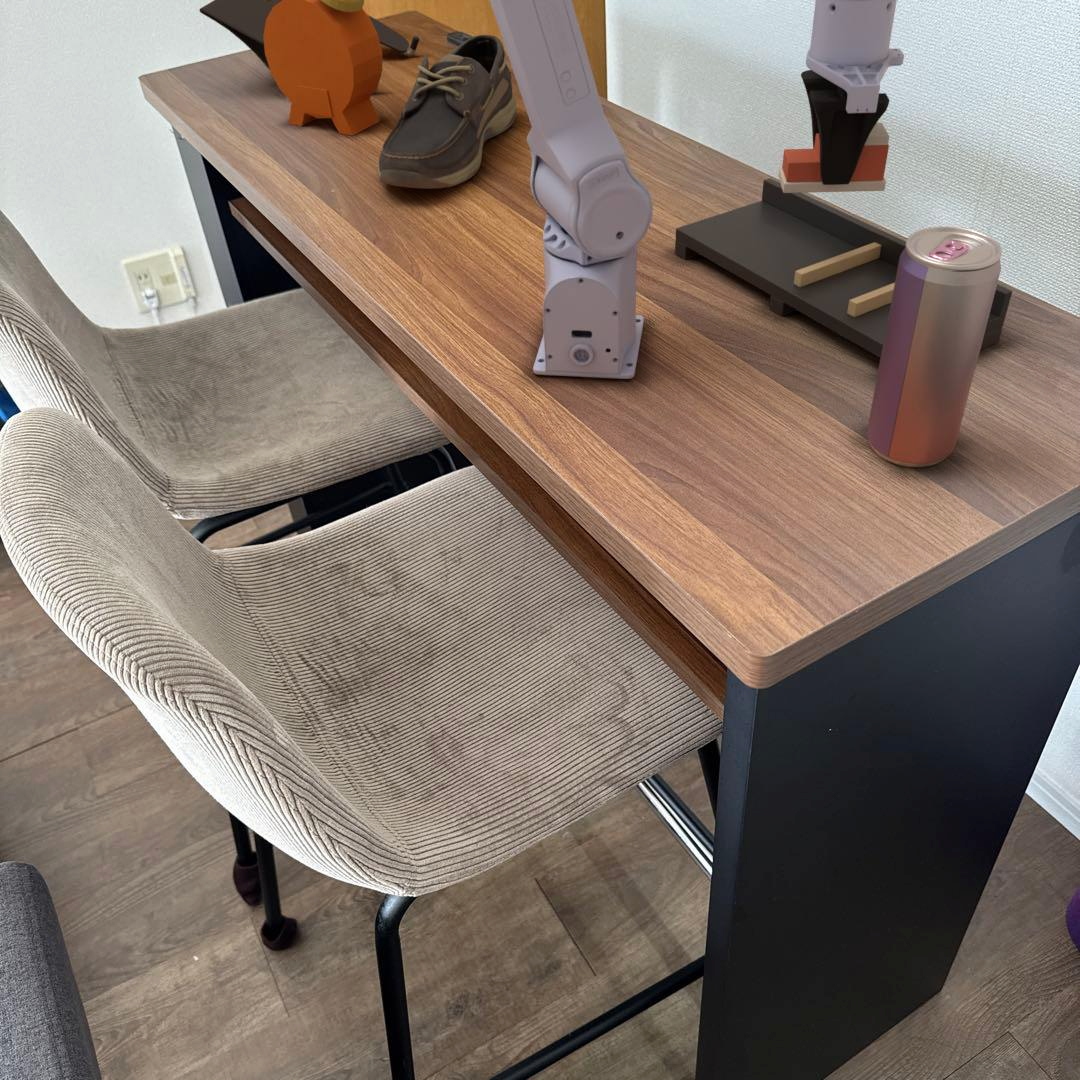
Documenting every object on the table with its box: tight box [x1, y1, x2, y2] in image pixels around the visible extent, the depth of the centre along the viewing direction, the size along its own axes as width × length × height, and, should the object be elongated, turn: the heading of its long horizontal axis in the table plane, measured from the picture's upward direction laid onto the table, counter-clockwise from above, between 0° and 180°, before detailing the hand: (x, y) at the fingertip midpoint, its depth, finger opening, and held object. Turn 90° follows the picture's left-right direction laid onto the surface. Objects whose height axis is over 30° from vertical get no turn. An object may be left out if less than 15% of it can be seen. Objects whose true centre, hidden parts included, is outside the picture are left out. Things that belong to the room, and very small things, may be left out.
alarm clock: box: [263, 0, 383, 136], centre depth 123 cm, size 13×6×20 cm, turn 59°
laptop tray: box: [199, 0, 420, 93], centre depth 143 cm, size 23×23×9 cm
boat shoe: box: [377, 34, 518, 190], centre depth 117 cm, size 11×29×11 cm, turn 166°
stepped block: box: [778, 122, 890, 194], centre depth 85 cm, size 8×3×4 cm, turn 87°
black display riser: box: [674, 178, 1013, 359], centre depth 90 cm, size 28×11×4 cm, turn 32°
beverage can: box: [866, 225, 1003, 468], centre depth 70 cm, size 6×6×15 cm
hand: (831, 174), depth 85 cm, fingers closed on stepped block, 3 cm apart
